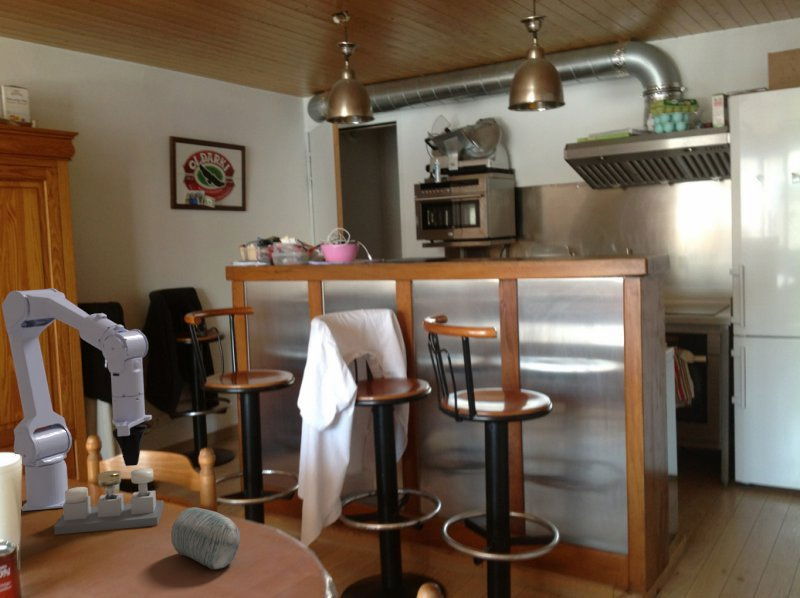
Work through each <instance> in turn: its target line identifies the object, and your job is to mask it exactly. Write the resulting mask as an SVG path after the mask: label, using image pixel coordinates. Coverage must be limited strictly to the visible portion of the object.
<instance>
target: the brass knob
mask: <svg viewBox="0 0 800 598" xmlns="http://www.w3.org/2000/svg"><path fill="white" fill-rule="evenodd" d="M97 482H98V483H97V485H98V486H99V487H104V488H105V495H106V500H109V499H115V494H116V493H115V486H116V485H119V484H121V482H122V478H121V471H120V470H119V471H118V470H109V471H107V470H106V471H103V472H100V473H98V474H97Z"/></svg>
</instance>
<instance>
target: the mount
mask: <svg viewBox="0 0 800 598" xmlns="http://www.w3.org/2000/svg"><path fill="white" fill-rule="evenodd" d="M147 491H148V496H145V497H139V491H135V492H133V494H132V496H131V497H130V502H129V503H128V502H127V503H124V493H123V492H121V493H115V499H109V500H106V494H101V495H100V497H99V498H98V500H97V504H96V505H93V506H92V505H91V504H92V503H91V501H92V500H91V495H88V499H87V500H86V501H83V502H79V503H66V502H65V503H64V504H63V507H62V508H63V514H62V515H61V517H60V518H59V519H58V521H57V522H56V524H55V525H54V527H53V528H54V529H53V530H54V536H55V535H65V534H66V535H68V534H76V533H77V534H78V533H88V532H100V531H111V530H120V529H121V530H122V529H133V528H141V527H142V528H145V527H152V526H153V527H154V526H158V525H159V522H160V520H161V516H162V514H163V511H164V500H163V499H162V500H157V497H156V495H157V494H156V493H157V492H156V490H147Z"/></svg>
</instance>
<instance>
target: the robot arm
mask: <svg viewBox="0 0 800 598" xmlns="http://www.w3.org/2000/svg"><path fill="white" fill-rule="evenodd" d="M1 309H2V314H3V319H4V324H5V329H6V333H7V336H8V342H9V345H10V347H9V348H10V351H11V357H12V363H13V367H14V372H15V376H16V377H15V378H16V381H17V388H18V392H19V398H20V401H21V407H22V413H23V419H21V421H20V422H19V423H17V425H16V426H15V427H14V429H13V433H14V442H13V443H14V444H13V452H14V455H15V454H20V455H21V456H22V464H21V465H23V466H24V471H25V489H26V492H25V493H26V502H25V503H24V504H23V506H21V508H22V511H21V512H25V511H26V512H27V511H38V510H39V511H40V510H50V509H61V508H63V504H64V503H65V491H66V490H68V489H69V487H68V485H69V483H68V468H67V467H68V466H67V464H66V461H65V460H64V459H66V458H67V453H68V452H70V450H71V447H72V443H73V438H72V434H71V432H70V430H69V428H68V427H67V424H66V418H64V417H63V416H62V415H60V414H58V413H56V412H55V411H54V410H53V404H52V400H51V395H50V389H49V386H48V380H47V379H48V378H47V375H46V370H45V365H44V359H43V355H42V354H43V353H42V349H41V348H42V347H41V344H40V339H39V337H40V335H41V334H42V333H43V331H44V330H45V329H47V328H48V327H49V326H50V325H51V324H52V323H53V322H55V321H56V320H58V321H60V322H62V323H64V324H65V325H67V326H70V327H72V328H74V329H76V330H78V333H79V337H80V338H81V339H82V340H83V341H85V342H86V343H88V344H90V345H91V346H93V347H95V348H97V349H98V350H99V351H101V352H102V356H103V357H104V359H105V360H106V362H107V369H108V371H109V373H110V378H111V381H110V382H111V399H112V403H111V404H112V415H113V417H112V419H111V420H112V421H111V423H112V424H113V426H115V427H116V429H113V430H112V435H113V438H114V439H115V440H116V442H117V443H118V446H119V449H120V451H121V455H122V459H123V463H124V465H125V466H126V467H133V466H137V465H138V463H139V461H140V453H141V448H142V447H141V446H142V441H143V437H144V434H145V431H146V430H147V424H145V423H144V422H146V421H151V420H153V416H152V414H146V410H145V408H146V407H145V389H144V386H145V385H144V368H143V366H144V365H143V358H144V357H146V356H147V354H148V352H149V351H148V350H149V341H148V339H147V336H146V335H145V334H144V333H143V332H142V331H141V330H140V329H137V328H133V329H130V330H128V329H126V328H125V326H124V325H122V324H117V323H115V322H114V321H112V320H110V318H109V319H108V317H107V314H105V313H103V312H101V313H93V314H88V313H87V312H86V311H84V310H83V309H81V308H80V307H78V306H77V305H76V304H74V303H72V302H71V301H70V300H68V299H67V298H66V295H65V293H63V292H61V291H59V290H58V289H56V288H53V287H49V288H45V289H31V290H30V289H29V290H11V291H10V292H9V293H7V295H6V297H5V299H4V300H3V302H2V303H1ZM142 423H143V424H142ZM44 427H45V428H44Z"/></svg>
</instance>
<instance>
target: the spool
mask: <svg viewBox="0 0 800 598" xmlns="http://www.w3.org/2000/svg"><path fill="white" fill-rule="evenodd" d="M170 533H171V534H170V537H171V539H170V540H171V545H172V547H173V549H174V550H175V551H176V553H178V555H180V556H184V557H185V556H186V557H187V558H189V559H192V560H193V561H195V562H198V563H199V564H201V565H203V566H205V567H207V568H209V569H211V570H222V569H223V568H226V567H227V566H229V565H230V564H231V562H233V560H234V559H235V557H236V555H237V554H238V551H239V547H240V544H241V543H240V542H241V533H240V530H239V527H238V525H237V524H236V523H235V522H234V521H233V520H232V519H231V518H229V517H227V516H226V515H223V514H221V513H219V512H216V511H213V510H210V509H205V508H200V507H188V508H186V509H184V510H182V511H181V512H180V513H179V514H178V516H177V517H176V519H175V520H174V522H173V525H172V526H171V532H170Z"/></svg>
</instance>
